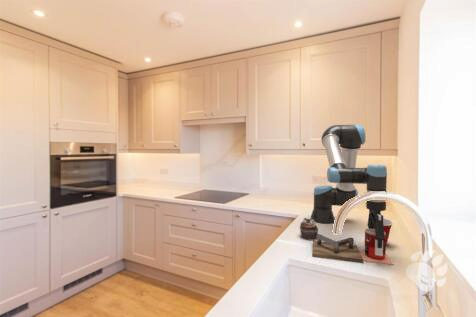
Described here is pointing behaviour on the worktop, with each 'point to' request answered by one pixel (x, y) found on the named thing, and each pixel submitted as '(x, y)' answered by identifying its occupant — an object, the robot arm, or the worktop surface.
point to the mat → (383, 261)
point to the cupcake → (308, 229)
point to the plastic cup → (387, 227)
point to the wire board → (342, 252)
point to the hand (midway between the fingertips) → (375, 249)
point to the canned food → (373, 244)
